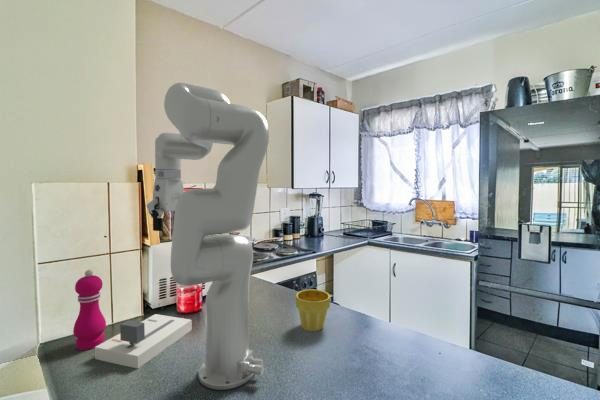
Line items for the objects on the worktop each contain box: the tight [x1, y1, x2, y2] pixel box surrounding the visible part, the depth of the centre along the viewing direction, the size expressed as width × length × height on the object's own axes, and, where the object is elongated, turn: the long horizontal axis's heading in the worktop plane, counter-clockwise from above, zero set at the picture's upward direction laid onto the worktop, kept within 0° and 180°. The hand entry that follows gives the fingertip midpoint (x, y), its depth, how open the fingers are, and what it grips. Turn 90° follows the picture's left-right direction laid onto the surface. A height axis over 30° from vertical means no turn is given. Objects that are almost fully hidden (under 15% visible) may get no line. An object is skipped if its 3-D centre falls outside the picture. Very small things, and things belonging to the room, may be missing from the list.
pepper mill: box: [72, 269, 107, 351], centre depth 81 cm, size 7×7×20 cm
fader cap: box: [119, 319, 145, 345], centre depth 75 cm, size 5×2×5 cm, turn 73°
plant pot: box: [295, 289, 331, 332], centre depth 93 cm, size 10×10×10 cm
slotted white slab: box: [94, 313, 193, 369], centre depth 82 cm, size 13×20×3 cm, turn 163°
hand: (168, 228), depth 99 cm, fingers open, 9 cm apart
